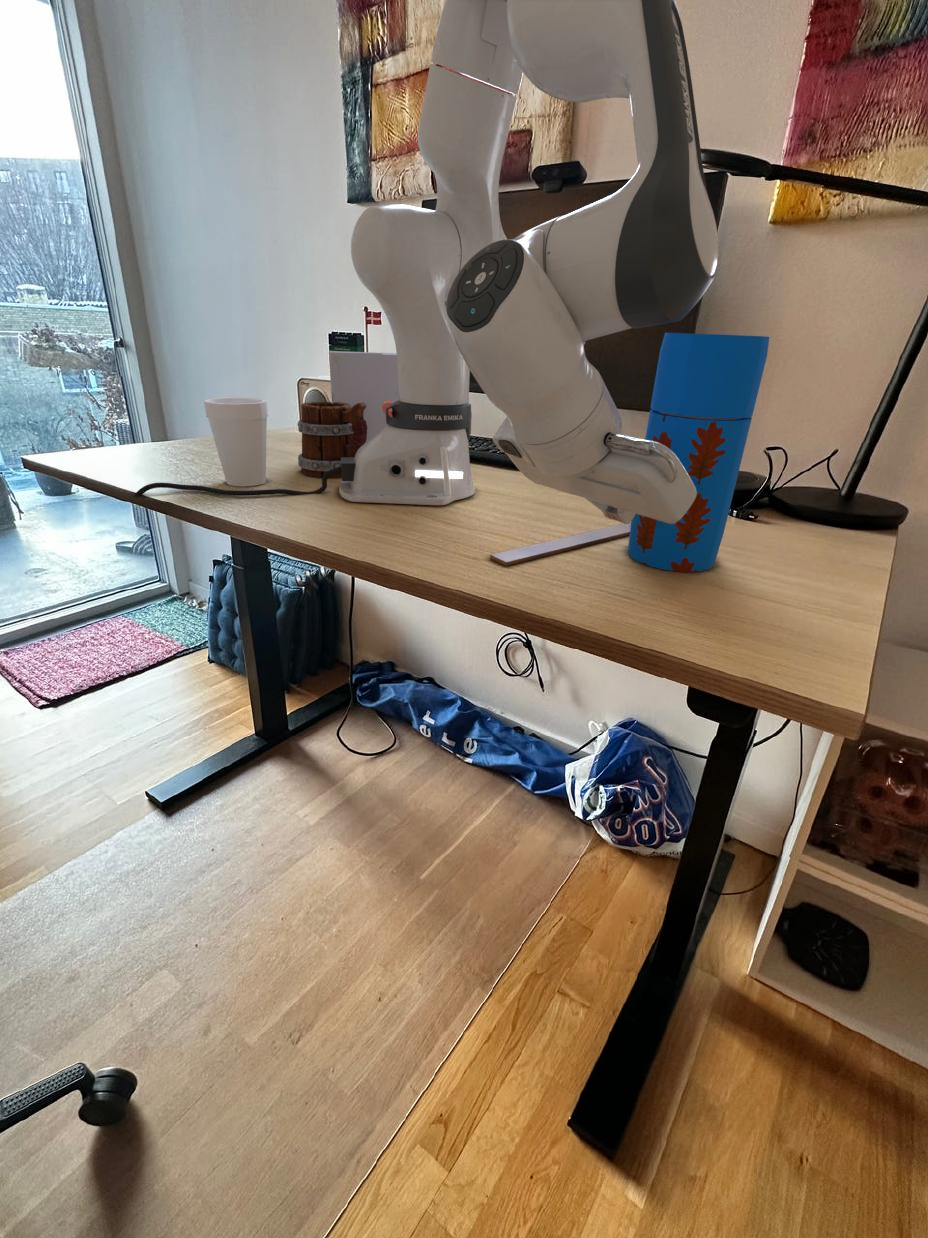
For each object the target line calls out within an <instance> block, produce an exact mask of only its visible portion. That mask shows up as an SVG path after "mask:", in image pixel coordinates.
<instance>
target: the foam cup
mask: <svg viewBox="0 0 928 1238" xmlns="http://www.w3.org/2000/svg"><path fill="white" fill-rule="evenodd" d="M203 403H204V410H205V416H206V418H207V419H208V422H209V427H210V429H211V434H212V437H213V440H214V444H215V447H216V451H217V454H218V457H219V461H220V465H221V468H222V471H223V475H224V478H225V479H224V480H225V481H226V484H227V485H229V486H233V487H255V486H260V485H263V484H265V483H266V479H267V435H268V433H267V431H268V430H267V429H268V427H267V425H268V423H267V422H268V417H269V413H268V404H267V399H262V398H256V397H255V398H254V397H214V398H208V399H204V401H203Z"/></svg>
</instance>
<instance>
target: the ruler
mask: <svg viewBox="0 0 928 1238" xmlns="http://www.w3.org/2000/svg"><path fill="white" fill-rule="evenodd" d="M630 528H631V522H630V523H629V524H624V523H621V524H615V525H612V526H608V527H603V528H599V529H595V530H590V531H586V532H583V533H578V534H574V535H569V536H564V537H561V538H556V539H552V540H548V541H543V542H539V543H534V544H530V545H526V546H522V547H521V546H520V547H518V548H512V549H509V550H505V551H500V552H496V553H492V554H490V555H489V559H491V560H492V561H495V562H497V563H498V564H501V565H503V566H505V567H507V566H511V565H516V564H520V563H524V562H529V561H532V560H536V559H539V558H543V557H548V556H551V555H555V554H560V553H563V552H568V551H573V550H575V549H580V548H584V547H588V546H591V545H592V546H593V545H596V544H600V543H604V542H608V541H611V540H615V539H619V538H623V537H627V536H628V537H629V536H630Z"/></svg>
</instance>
